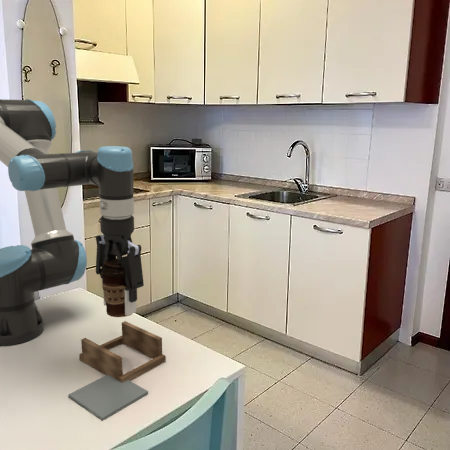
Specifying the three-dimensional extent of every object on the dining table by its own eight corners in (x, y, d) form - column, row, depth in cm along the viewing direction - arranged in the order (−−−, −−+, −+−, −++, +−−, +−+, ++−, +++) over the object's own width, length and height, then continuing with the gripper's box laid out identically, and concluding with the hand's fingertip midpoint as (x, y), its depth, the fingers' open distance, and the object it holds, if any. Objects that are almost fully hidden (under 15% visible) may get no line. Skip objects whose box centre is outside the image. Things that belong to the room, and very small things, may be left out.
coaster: (68, 396, 101) (68, 394, 100) (113, 373, 110) (113, 371, 109) (102, 420, 93) (102, 417, 93) (148, 393, 102) (148, 391, 102)
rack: (79, 360, 115) (78, 337, 114) (123, 340, 125) (122, 319, 124) (122, 385, 105) (121, 361, 104) (165, 361, 115) (165, 339, 114)
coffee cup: (129, 323, 107) (128, 269, 104) (95, 318, 109) (93, 266, 106) (143, 307, 116) (142, 257, 112) (111, 303, 117) (110, 254, 114)
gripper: (76, 210, 110) (81, 301, 115) (133, 226, 97) (135, 327, 103) (103, 206, 115) (106, 292, 121) (160, 220, 103) (160, 316, 109)
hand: (119, 308), depth 112 cm, fingers closed on coffee cup, 7 cm apart
